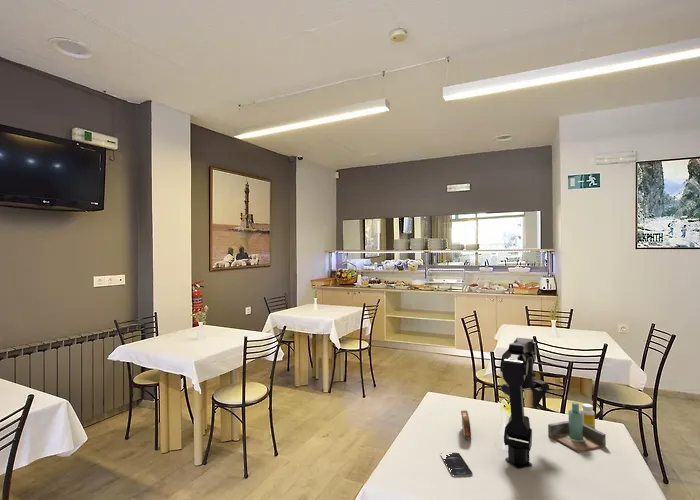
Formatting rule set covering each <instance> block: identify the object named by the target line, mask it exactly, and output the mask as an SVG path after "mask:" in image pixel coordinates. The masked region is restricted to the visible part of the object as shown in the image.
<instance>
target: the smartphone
mask: <svg viewBox="0 0 700 500" xmlns="http://www.w3.org/2000/svg"><path fill="white" fill-rule="evenodd" d="M442 453H443V452H442ZM442 453H440V454H442ZM451 453H452V454H449V455H450V456H448V455H446V456H447V457H446V459H442V461H443V460H445V461H443V463H444V462H445V463H444V465H445V464H447V465H445V466H447V467H448V469H449V468H450V470H451V469H452V470H451V472H449V471H450V470H448V469H447V470H448V472H449V474H450V473H451V474H452V475H454V476H459V477H458V478H461V477H462V478H463V477H464V478H466V477H472V476H473V471H472V469H471V468H470V467H469V465H468V464H467V463H466V461H465V459H464V458H463V456H462V455H461V454H460V453H459V452H451ZM447 467H446V468H447ZM451 474H450V475H451ZM452 475H451V476H452Z"/></svg>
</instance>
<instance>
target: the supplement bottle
mask: <svg viewBox="0 0 700 500" xmlns="http://www.w3.org/2000/svg"><path fill="white" fill-rule="evenodd" d="M593 409H594V405H592V404H590V403H582V404H581V409H579V411H580V412H582V413H583V424H585V425H587V426H589V427H591V428H593V429H595V430H596V418H595V417H596V413H595V411H594V410H593Z"/></svg>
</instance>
